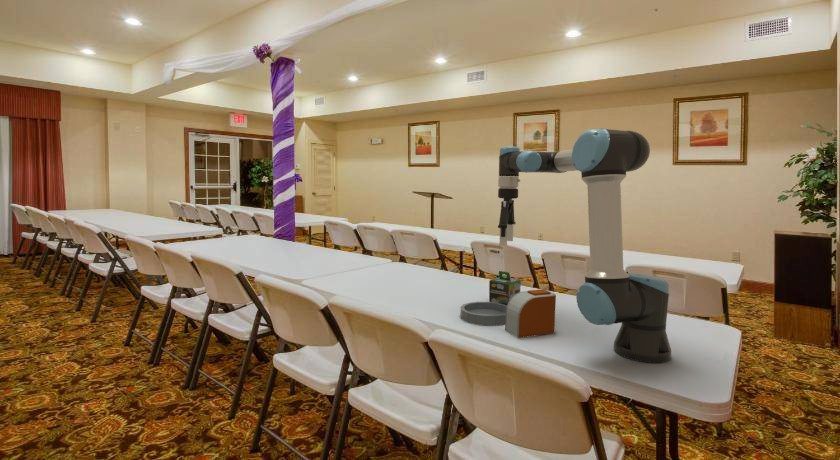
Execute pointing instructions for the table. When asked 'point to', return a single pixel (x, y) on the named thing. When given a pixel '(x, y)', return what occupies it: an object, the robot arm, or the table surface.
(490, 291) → the chalk box
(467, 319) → the round tray
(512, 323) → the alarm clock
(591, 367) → the table surface
